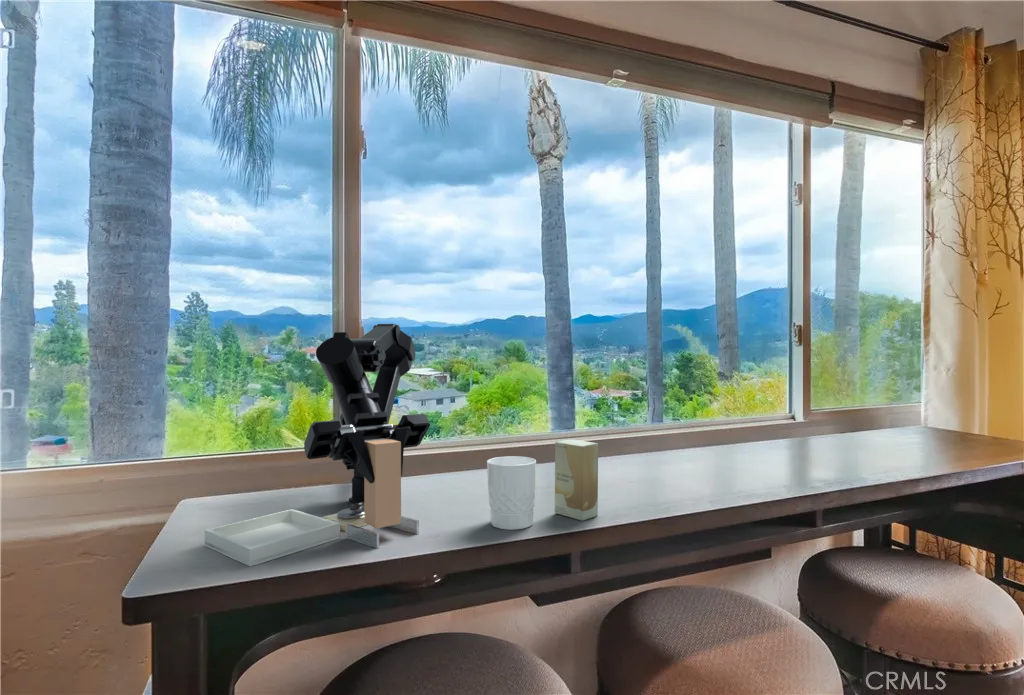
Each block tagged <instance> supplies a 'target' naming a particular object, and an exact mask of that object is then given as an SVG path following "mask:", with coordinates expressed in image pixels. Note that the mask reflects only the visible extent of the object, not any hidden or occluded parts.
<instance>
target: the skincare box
mask: <svg viewBox="0 0 1024 695" xmlns="http://www.w3.org/2000/svg"><path fill="white" fill-rule="evenodd" d="M554 444H555V449H554V450H555V451H554V513H555V514H557V515H562V516H565V517H568V518H571V519H575V520H578V521H582V522H583V521H585V520H586V521H587V520H589V519H591V518H594V517H597V516H598V514H599V511H598V509H599V505H598V504H599V500H598V499H599V498H598V497H599V494H598V493H599V443H598V442H592V441H587V440H579V439H578V440H577V439H571V438H569V439H563V440H559V441H555V442H554Z"/></svg>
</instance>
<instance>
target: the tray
mask: <svg viewBox="0 0 1024 695" xmlns="http://www.w3.org/2000/svg"><path fill="white" fill-rule="evenodd" d="M339 539H341V530H340V523H338V522H334V521H331V520H327V519H324V518H323V517H320V516H318V515H317V516H316V515H314V514H310V513H307V512H303V511H300V510H297V509H293V508H290V509H286V510H283V511H278V512H274V513H269V514H265V515H261V516H257V517H254V518H253V517H252V518H249V519H245V520H239V521H235V522H233V523H228V524H225V525H220V526H216V527H212V528H211V527H210V528H206V529H205V530H204V547H207V548H209V549H212V550H214V551H216V552H217V553H220V554H221V555H225V556H227V558H228V557H229V558H231V559H233V560H235V561H237V562H240V563H242V564H244V565H246V566H248V567H254V566H256V565H260V564H263V563H265V562H269V561H272V560H275V559H278V558H281V557H285V556H287V555H288V556H289V555H291V554H294V553H298V552H301V551H304V550H307V549H311V548H313V547H316V546H320V545H323V544H326V543H330V542H333V541H335V540H336V541H337V540H339Z"/></svg>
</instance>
